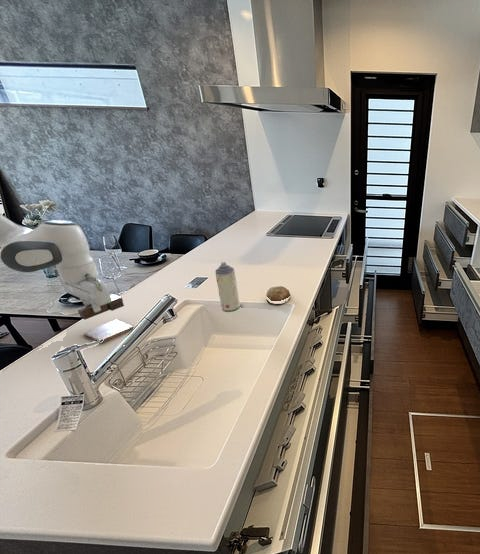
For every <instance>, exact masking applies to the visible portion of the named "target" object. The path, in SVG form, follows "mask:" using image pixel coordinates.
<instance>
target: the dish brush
mask: <svg viewBox="0 0 480 554" xmlns="http://www.w3.org/2000/svg"><path fill="white" fill-rule="evenodd" d="M110 296H111V302H110V303H107V304H105V305H102V306H100V308H101V311H99V312H93V311H92V309H91V307H92V305H90V306H87V307H85V306H84V307H82V308H79V309H77V311H78V314H79V317H80V318H81V319H83V320H89V319H90V318H93V317H95V316H98V315H101V314H104V313H106V312H108V311H112V312H113V311H116V310H118V309H121V308H123V307H124V306H125V304H124V302H123V301H124V300H123V297H122V296H120V295H117V294H115V293H112V294H110Z"/></svg>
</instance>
